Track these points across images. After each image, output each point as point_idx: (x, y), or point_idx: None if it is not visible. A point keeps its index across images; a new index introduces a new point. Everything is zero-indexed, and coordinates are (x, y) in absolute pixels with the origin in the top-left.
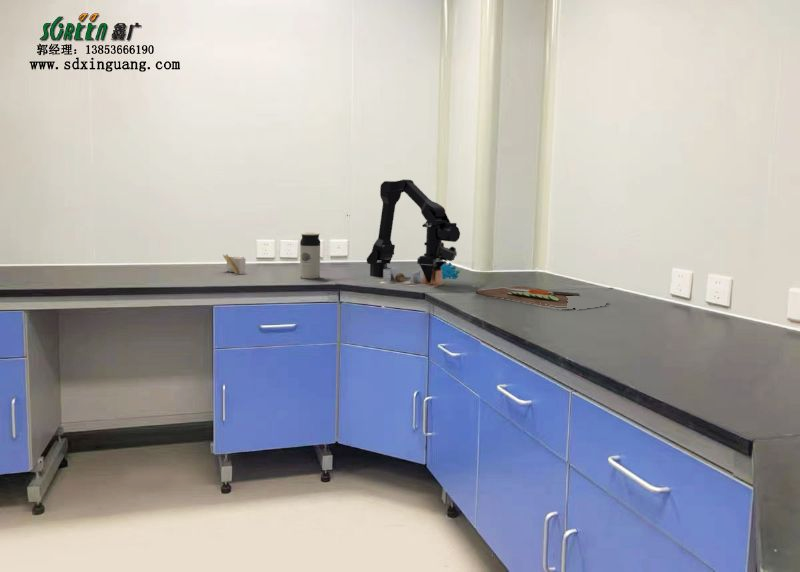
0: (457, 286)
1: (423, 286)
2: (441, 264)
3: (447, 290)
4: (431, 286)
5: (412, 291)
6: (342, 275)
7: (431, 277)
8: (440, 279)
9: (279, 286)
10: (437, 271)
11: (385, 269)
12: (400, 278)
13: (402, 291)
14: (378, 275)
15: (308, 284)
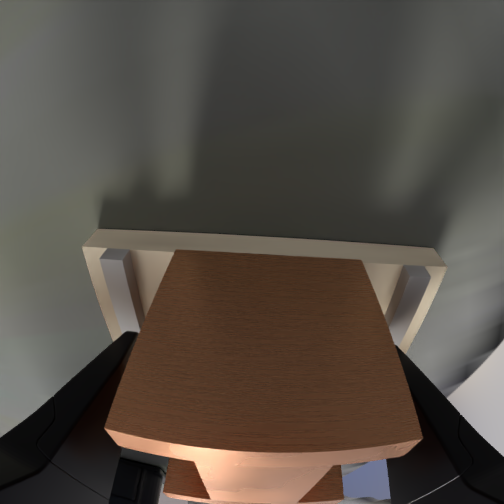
0: (13, 117)
1: (401, 349)
2: (23, 491)
3: (362, 109)
4: (415, 296)
5: (468, 349)
6: (160, 494)
7: (411, 385)
8: (231, 297)
9: (387, 499)
10: (416, 435)
11: None
12: None
13: (465, 379)
14: (155, 483)
15: (347, 501)
